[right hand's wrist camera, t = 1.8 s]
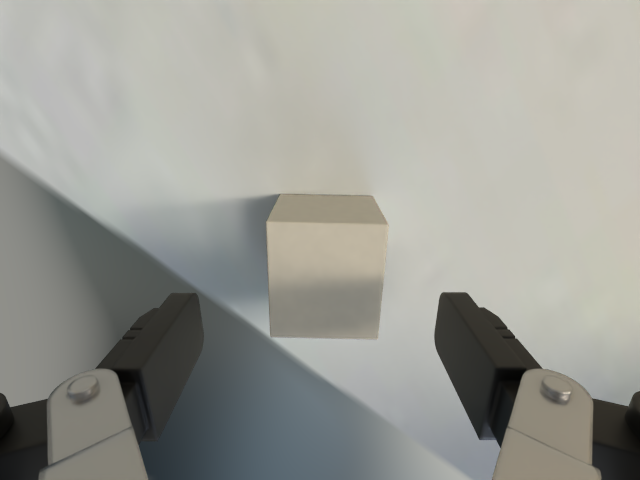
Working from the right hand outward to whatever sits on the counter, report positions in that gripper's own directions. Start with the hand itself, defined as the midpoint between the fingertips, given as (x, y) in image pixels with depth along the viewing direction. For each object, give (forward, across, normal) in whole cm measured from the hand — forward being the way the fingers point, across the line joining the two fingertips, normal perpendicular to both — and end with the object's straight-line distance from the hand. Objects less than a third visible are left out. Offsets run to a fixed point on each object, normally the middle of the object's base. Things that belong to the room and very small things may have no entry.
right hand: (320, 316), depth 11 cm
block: (+6, 0, 0) cm, 6 cm away
